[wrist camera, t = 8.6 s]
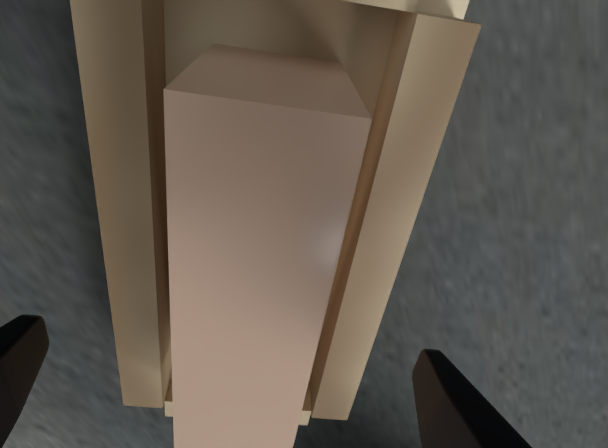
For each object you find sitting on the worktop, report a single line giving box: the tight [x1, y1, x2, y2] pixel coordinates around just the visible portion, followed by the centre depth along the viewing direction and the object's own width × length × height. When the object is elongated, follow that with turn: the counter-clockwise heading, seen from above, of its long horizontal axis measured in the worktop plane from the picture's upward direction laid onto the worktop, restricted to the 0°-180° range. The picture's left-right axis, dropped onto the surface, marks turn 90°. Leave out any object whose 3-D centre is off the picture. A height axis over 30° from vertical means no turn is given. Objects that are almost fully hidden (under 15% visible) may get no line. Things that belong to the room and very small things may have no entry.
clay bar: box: [163, 43, 372, 448], centre depth 12 cm, size 4×12×5 cm, turn 171°
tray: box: [70, 0, 481, 425], centre depth 14 cm, size 10×17×3 cm, turn 171°
